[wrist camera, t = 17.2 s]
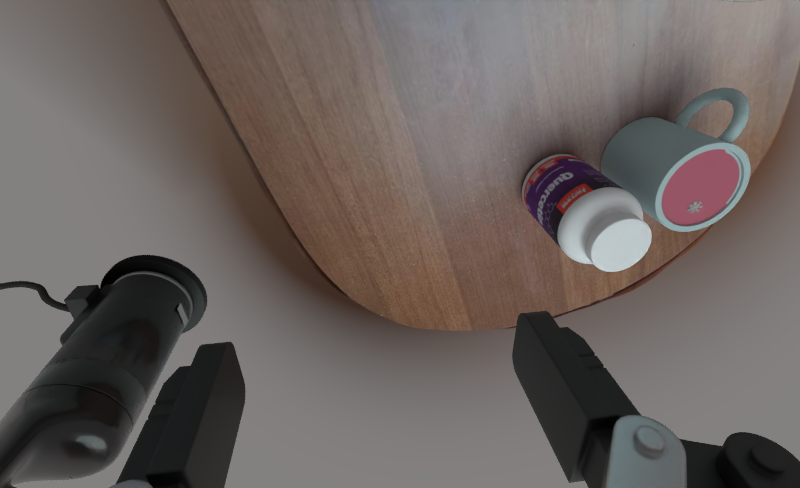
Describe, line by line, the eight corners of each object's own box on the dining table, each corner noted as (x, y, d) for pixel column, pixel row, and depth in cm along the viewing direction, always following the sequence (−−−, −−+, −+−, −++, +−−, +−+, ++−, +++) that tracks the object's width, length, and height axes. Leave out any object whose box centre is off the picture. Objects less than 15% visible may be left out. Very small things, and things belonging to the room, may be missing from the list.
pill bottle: (539, 142, 46) (610, 192, 34) (598, 162, 48) (685, 217, 36) (507, 205, 49) (560, 272, 37) (562, 222, 52) (631, 291, 39)
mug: (643, 203, 51) (702, 242, 43) (585, 178, 49) (636, 214, 40) (722, 97, 46) (809, 118, 37) (661, 62, 43) (740, 76, 34)
